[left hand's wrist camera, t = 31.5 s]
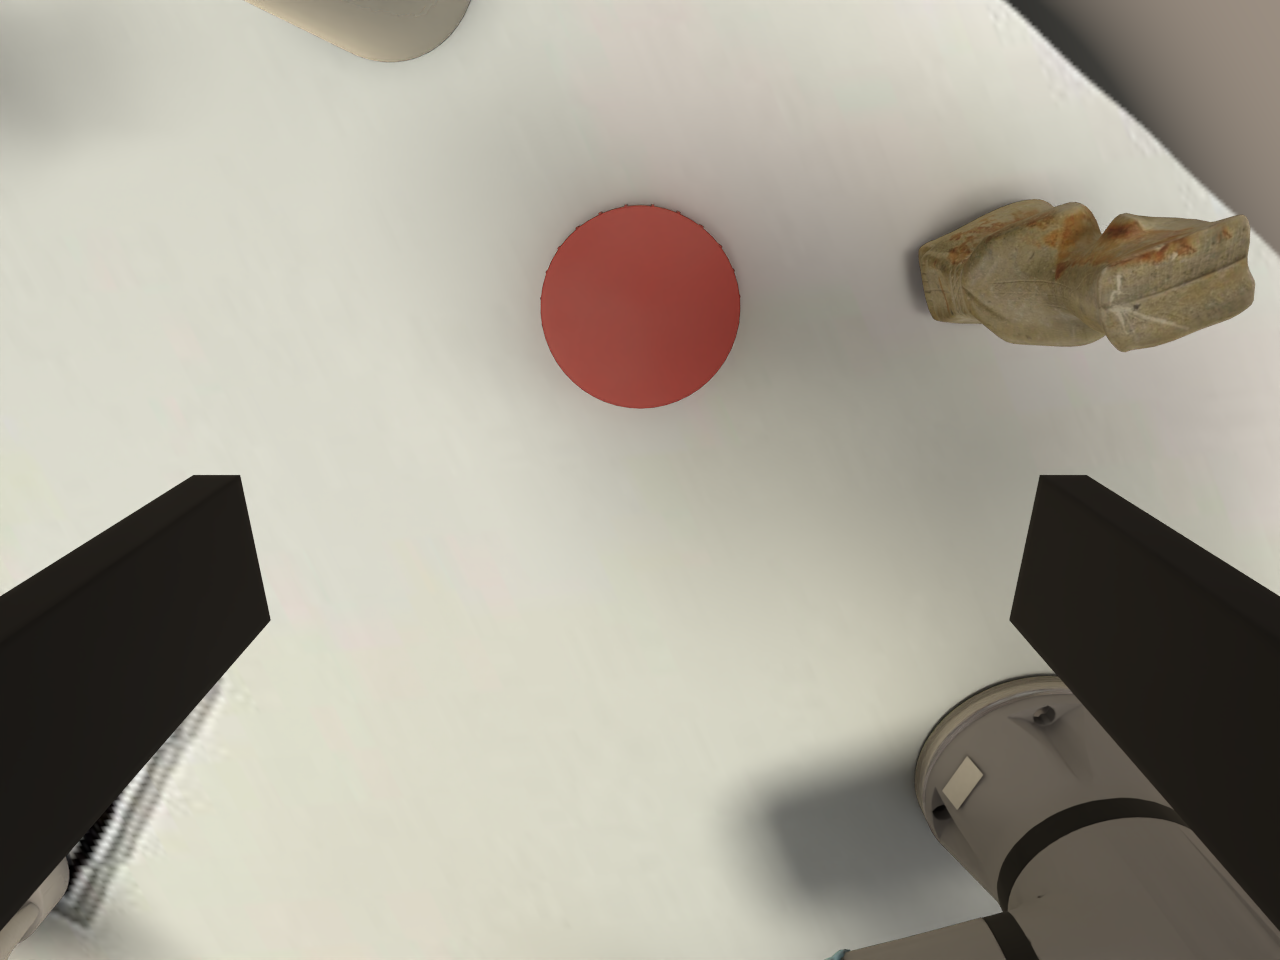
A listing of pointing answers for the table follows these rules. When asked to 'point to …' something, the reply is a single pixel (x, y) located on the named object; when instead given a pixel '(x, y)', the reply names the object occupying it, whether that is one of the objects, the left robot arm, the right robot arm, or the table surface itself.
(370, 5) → the jar
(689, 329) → the lid
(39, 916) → the bust sculpture
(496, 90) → the table surface
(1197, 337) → the table surface
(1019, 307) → the sculpture
